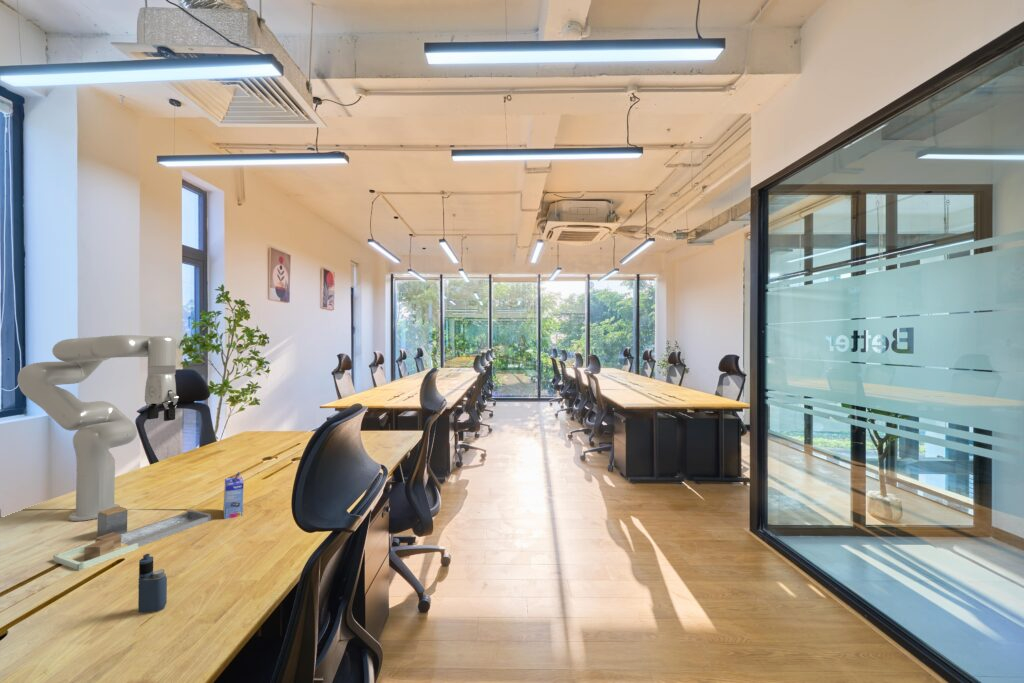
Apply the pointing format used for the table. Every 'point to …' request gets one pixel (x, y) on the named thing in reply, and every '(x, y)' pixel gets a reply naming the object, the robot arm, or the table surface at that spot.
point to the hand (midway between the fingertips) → (161, 419)
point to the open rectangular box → (165, 528)
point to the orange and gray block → (112, 521)
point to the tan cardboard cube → (111, 536)
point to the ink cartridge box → (233, 497)
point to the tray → (77, 565)
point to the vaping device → (151, 587)
